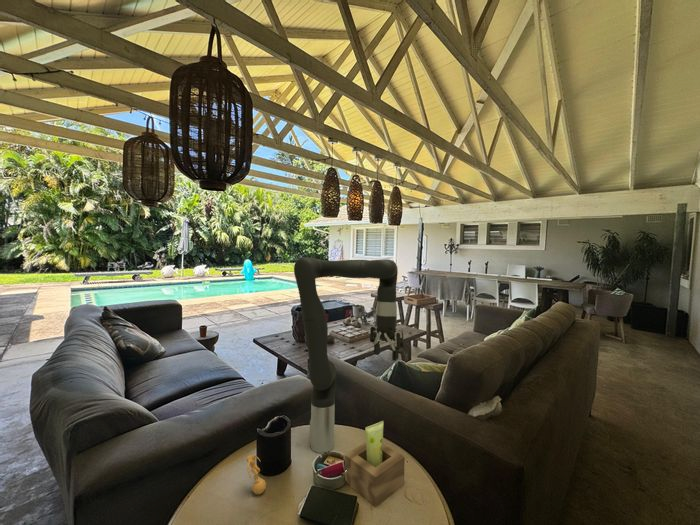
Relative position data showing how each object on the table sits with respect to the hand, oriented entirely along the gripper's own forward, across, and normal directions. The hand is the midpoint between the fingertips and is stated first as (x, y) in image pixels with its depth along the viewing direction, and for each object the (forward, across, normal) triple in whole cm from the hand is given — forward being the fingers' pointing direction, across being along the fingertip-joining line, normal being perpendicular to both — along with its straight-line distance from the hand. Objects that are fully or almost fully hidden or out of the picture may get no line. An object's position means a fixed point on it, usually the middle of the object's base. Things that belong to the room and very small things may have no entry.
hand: (385, 357), depth 109 cm
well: (+38, +5, -11) cm, 40 cm away
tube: (+38, +5, -11) cm, 40 cm away
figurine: (+38, -17, -42) cm, 59 cm away
